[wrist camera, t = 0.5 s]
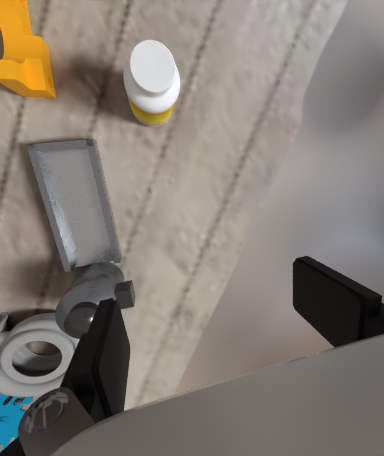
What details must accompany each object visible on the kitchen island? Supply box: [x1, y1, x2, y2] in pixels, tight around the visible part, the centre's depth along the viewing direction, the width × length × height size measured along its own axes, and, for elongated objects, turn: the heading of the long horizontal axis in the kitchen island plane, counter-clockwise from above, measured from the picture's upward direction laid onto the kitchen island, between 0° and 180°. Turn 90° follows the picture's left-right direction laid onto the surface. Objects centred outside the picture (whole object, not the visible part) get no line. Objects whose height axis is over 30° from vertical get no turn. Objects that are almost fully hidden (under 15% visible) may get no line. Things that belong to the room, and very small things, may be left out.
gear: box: [0, 394, 33, 451], centre depth 40 cm, size 11×6×10 cm
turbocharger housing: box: [0, 312, 80, 397], centre depth 38 cm, size 17×6×15 cm
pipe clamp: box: [0, 0, 56, 98], centre depth 27 cm, size 12×4×6 cm, turn 0°
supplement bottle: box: [124, 40, 180, 127], centre depth 28 cm, size 7×7×13 cm
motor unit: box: [26, 139, 135, 339], centre depth 31 cm, size 28×11×12 cm, turn 6°
